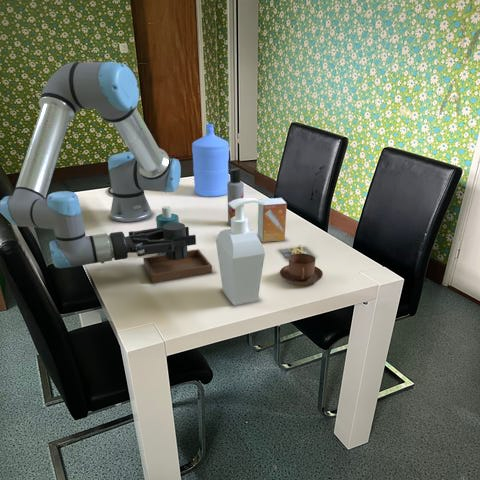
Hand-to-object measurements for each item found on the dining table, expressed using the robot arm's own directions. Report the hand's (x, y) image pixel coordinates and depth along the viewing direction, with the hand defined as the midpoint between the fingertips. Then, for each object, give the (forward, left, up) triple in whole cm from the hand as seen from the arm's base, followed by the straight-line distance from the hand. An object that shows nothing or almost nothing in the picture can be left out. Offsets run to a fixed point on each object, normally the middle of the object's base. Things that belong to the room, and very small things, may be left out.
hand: (191, 235), depth 134 cm
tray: (0, -5, -10) cm, 11 cm away
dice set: (+4, +33, -10) cm, 35 cm away
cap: (0, -5, -5) cm, 7 cm away
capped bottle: (-12, -4, -10) cm, 17 cm away
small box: (-12, +31, -10) cm, 35 cm away
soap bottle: (+22, +7, -10) cm, 26 cm away
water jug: (-72, +30, -10) cm, 78 cm away
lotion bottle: (-30, +25, -10) cm, 40 cm away
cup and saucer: (+20, +26, -10) cm, 34 cm away
